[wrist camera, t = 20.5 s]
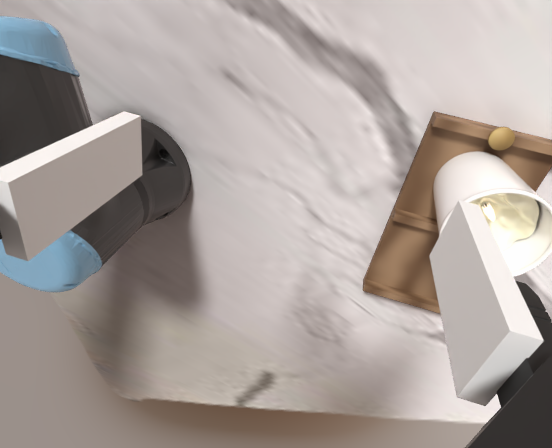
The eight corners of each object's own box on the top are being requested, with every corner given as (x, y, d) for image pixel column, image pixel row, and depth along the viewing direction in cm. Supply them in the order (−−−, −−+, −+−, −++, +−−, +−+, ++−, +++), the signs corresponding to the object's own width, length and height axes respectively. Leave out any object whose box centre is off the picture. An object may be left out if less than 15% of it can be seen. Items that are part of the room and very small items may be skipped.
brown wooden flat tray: (363, 279, 56) (362, 293, 54) (436, 105, 41) (439, 112, 39) (456, 306, 55) (459, 321, 52) (565, 136, 40) (578, 145, 37)
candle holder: (537, 181, 42) (586, 238, 32) (464, 233, 47) (487, 296, 37) (477, 126, 41) (509, 168, 31) (408, 186, 46) (416, 238, 36)
